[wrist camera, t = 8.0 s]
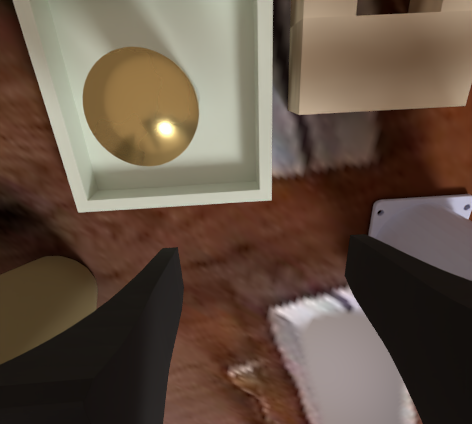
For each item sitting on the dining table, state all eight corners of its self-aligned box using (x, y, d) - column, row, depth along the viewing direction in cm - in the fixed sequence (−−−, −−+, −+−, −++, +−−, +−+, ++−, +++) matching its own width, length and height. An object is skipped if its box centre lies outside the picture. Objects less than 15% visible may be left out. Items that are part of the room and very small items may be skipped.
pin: (209, 130, 19) (201, 164, 11) (148, 131, 19) (96, 167, 11) (205, 63, 17) (193, 45, 9) (139, 63, 17) (69, 47, 9)
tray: (266, 187, 22) (271, 200, 19) (93, 198, 21) (78, 212, 19) (265, -28, 16) (273, -46, 14) (33, -18, 16) (1, -36, 13)
